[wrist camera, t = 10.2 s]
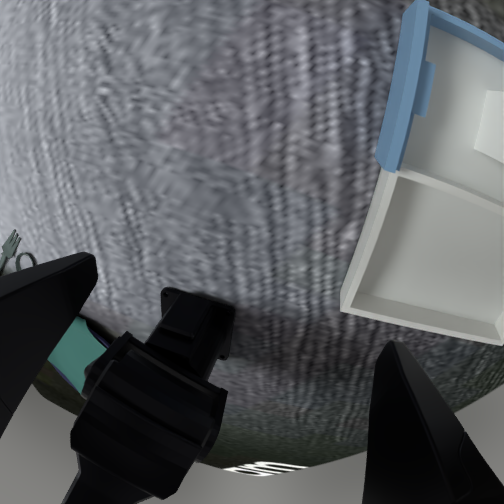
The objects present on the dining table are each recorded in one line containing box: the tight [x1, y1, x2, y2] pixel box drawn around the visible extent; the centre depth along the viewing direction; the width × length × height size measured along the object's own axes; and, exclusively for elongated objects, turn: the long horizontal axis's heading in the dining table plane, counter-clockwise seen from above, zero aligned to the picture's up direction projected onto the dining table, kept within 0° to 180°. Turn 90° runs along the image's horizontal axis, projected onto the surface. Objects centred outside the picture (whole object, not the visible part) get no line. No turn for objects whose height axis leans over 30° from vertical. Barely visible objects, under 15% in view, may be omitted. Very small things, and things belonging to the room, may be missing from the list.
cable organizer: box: [340, 0, 504, 346], centre depth 14 cm, size 20×16×4 cm
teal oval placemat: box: [0, 229, 110, 394], centre depth 35 cm, size 20×30×2 cm, turn 34°
